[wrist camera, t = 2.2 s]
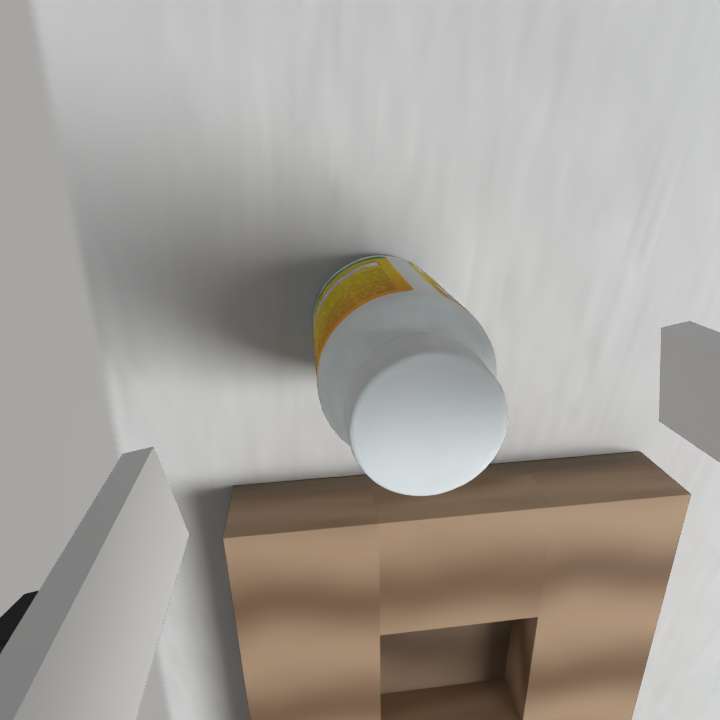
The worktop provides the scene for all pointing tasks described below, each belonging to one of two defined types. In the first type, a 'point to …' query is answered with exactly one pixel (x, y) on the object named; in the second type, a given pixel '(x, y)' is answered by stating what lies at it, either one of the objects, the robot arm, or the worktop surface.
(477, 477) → the socket block
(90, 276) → the worktop surface
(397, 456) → the supplement bottle
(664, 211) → the worktop surface
